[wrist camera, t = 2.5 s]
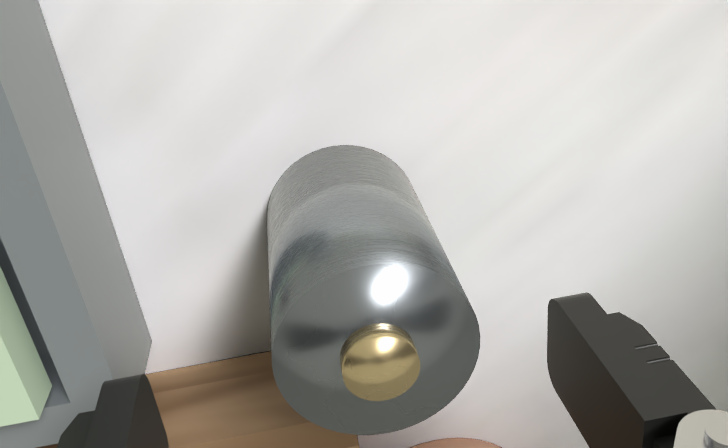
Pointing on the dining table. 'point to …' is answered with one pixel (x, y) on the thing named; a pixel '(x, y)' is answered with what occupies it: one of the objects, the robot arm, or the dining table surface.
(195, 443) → the brown wooden tray
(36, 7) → the checker base
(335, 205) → the cell
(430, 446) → the peach dome knob
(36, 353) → the pale green panel
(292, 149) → the dining table surface
